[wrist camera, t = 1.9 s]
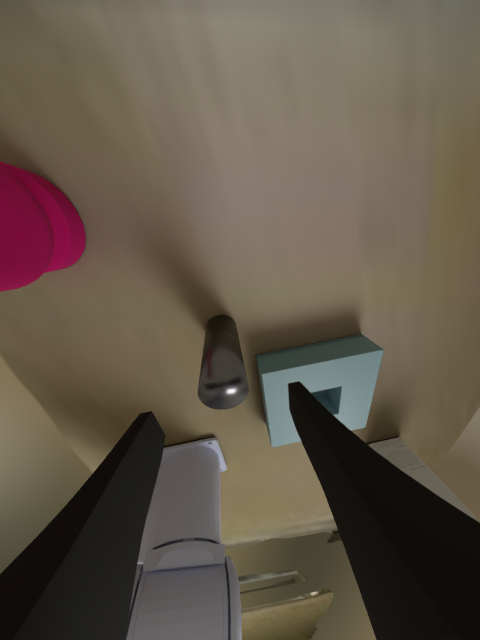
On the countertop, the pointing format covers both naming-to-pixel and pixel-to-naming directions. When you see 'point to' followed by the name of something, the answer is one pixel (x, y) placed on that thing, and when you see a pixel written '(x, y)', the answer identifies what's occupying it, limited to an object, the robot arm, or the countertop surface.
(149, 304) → the countertop surface
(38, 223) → the pepper mill
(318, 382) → the socket block
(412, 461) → the skincare box
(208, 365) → the metal peg
